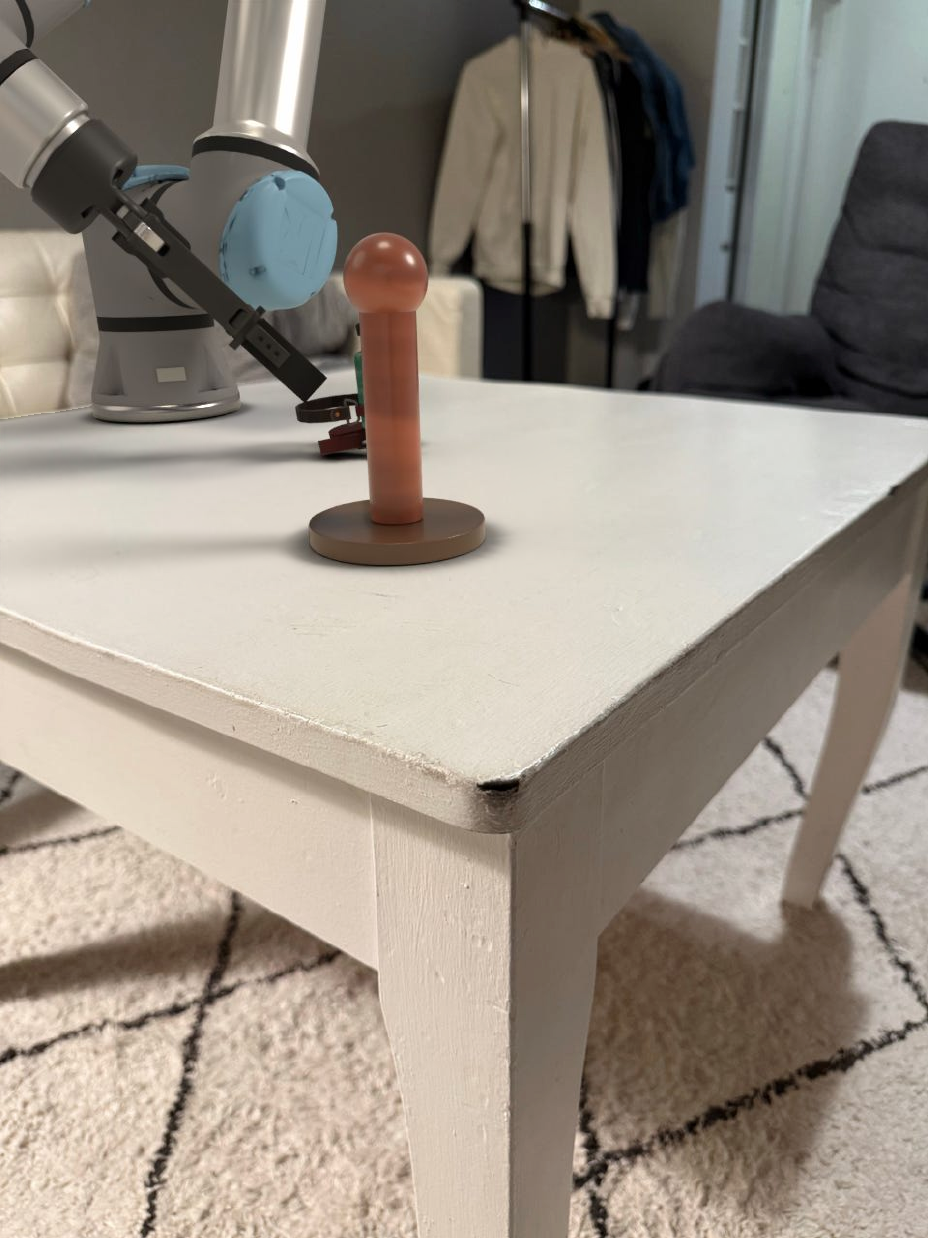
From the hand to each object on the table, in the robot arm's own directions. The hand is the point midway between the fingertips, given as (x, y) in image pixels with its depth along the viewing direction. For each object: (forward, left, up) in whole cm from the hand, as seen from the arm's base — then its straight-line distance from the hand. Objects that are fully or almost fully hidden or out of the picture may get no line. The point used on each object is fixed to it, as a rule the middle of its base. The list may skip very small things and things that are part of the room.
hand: (314, 389), depth 74 cm
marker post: (+26, +1, -5) cm, 27 cm away
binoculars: (0, +3, -5) cm, 6 cm away
